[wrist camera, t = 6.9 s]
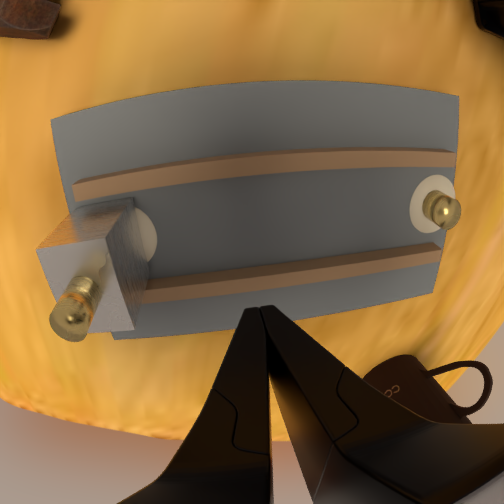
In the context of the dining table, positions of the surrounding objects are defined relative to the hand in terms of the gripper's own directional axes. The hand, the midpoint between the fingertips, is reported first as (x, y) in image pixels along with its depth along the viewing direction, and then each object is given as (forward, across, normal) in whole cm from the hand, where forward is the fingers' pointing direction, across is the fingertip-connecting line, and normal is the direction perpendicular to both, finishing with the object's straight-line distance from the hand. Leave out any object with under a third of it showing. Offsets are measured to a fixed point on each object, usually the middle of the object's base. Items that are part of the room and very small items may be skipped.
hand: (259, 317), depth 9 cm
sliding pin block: (+7, +6, 0) cm, 9 cm away
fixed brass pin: (+7, -11, 0) cm, 13 cm away
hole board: (+8, -2, 0) cm, 8 cm away
